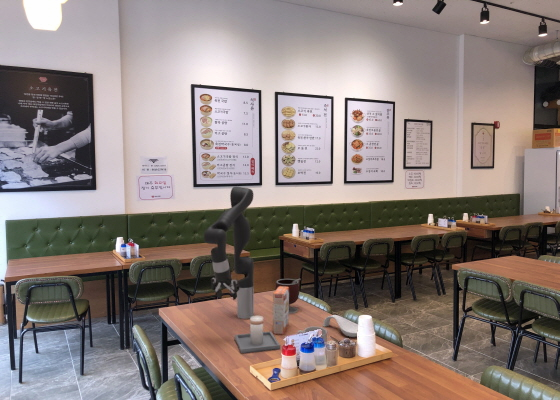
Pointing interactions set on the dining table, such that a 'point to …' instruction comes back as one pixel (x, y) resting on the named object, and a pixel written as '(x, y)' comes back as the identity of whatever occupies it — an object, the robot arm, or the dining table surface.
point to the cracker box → (280, 310)
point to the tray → (267, 345)
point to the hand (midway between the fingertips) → (227, 298)
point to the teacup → (324, 332)
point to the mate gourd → (290, 291)
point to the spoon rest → (343, 325)
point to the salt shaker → (256, 330)
